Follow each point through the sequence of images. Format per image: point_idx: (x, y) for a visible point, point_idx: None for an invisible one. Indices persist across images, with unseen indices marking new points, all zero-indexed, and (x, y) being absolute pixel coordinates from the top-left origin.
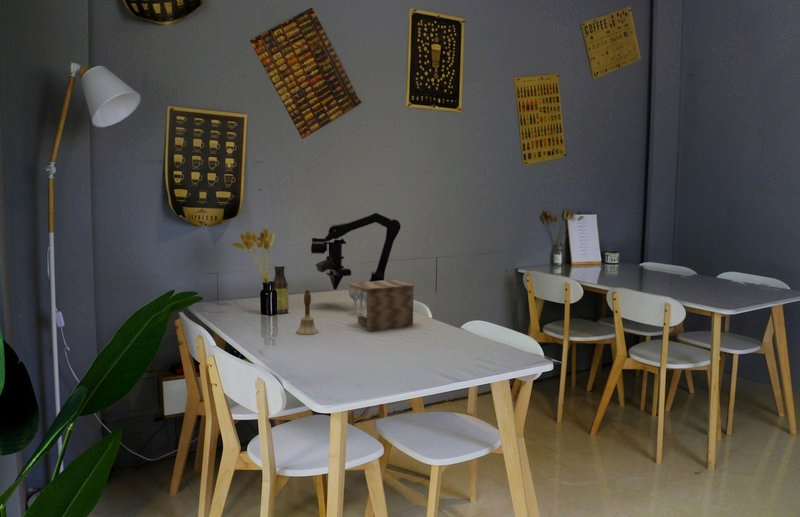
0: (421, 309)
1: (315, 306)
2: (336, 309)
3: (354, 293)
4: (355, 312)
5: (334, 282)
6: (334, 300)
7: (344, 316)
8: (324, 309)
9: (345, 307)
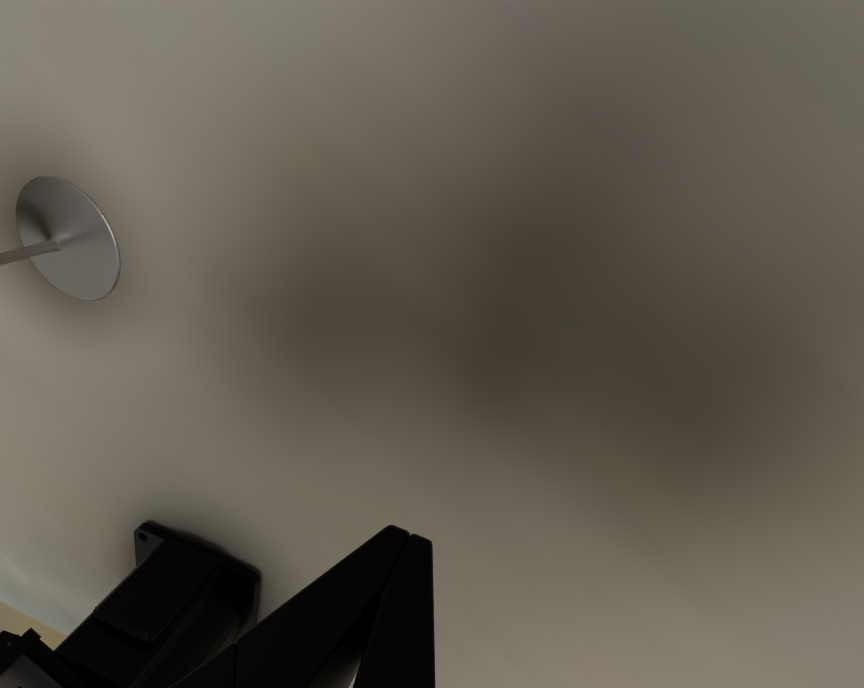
0: None
1: (797, 202)
2: (373, 274)
3: None
4: (46, 243)
5: (223, 650)
6: (825, 668)
7: (4, 47)
8: (487, 146)
9: (394, 428)
